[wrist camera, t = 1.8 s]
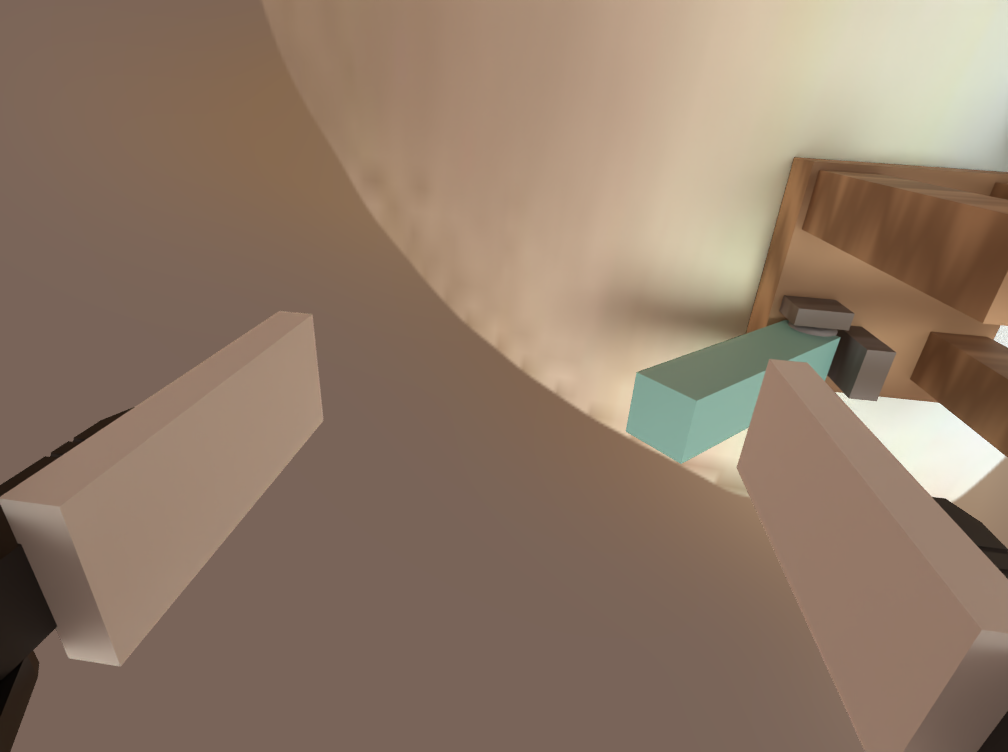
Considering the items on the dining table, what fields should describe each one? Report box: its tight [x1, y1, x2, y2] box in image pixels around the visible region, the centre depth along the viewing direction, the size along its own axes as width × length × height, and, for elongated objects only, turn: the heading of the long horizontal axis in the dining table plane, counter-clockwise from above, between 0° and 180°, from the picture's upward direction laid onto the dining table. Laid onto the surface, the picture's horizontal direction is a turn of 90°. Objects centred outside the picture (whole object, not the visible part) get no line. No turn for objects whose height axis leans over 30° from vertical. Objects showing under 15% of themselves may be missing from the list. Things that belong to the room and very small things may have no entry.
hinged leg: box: [626, 320, 841, 464], centre depth 29 cm, size 3×3×15 cm
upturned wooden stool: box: [746, 157, 1008, 457], centre depth 26 cm, size 14×13×18 cm
